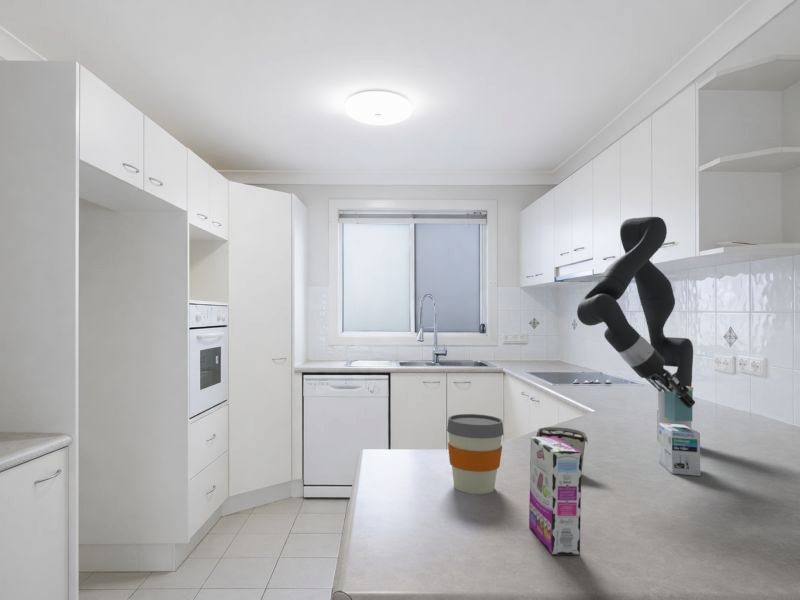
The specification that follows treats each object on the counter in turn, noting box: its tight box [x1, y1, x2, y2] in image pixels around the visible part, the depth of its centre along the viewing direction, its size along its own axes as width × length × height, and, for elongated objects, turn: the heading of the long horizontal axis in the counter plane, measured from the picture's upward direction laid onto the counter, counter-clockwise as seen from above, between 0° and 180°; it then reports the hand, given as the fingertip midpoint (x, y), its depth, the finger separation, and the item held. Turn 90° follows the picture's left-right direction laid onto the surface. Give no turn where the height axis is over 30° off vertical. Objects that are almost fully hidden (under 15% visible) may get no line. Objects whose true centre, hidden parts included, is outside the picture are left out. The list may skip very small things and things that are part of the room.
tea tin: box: [664, 385, 694, 422], centre depth 127 cm, size 5×5×9 cm
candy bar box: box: [528, 436, 582, 556], centre depth 83 cm, size 11×5×16 cm, turn 5°
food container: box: [535, 426, 589, 474], centre depth 124 cm, size 12×6×10 cm, turn 65°
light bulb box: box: [658, 423, 701, 477], centre depth 126 cm, size 11×7×11 cm, turn 168°
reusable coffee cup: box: [446, 413, 504, 495], centre depth 109 cm, size 13×13×15 cm
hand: (685, 403), depth 127 cm, fingers closed on tea tin, 4 cm apart
